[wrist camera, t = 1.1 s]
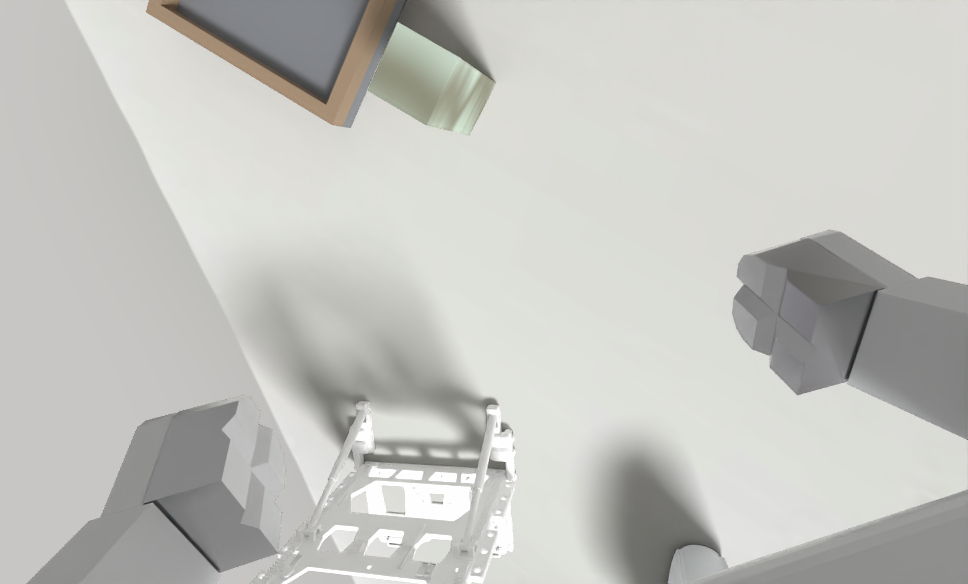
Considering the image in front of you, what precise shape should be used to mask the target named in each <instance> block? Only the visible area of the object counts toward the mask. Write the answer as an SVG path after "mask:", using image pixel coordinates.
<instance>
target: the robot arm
mask: <svg viewBox="0 0 968 584" xmlns="http://www.w3.org/2000/svg"><path fill="white" fill-rule="evenodd" d="M737 278H738V279H739V280H740V281H741V282H742V283H743V286H742V287H741V289H740V290H739V291H738V293H737V294H736V295H735V297H734V300H733V311H732V314H733V318H734V321H735V325H736V329H737V330H738V332H739V334H740V335H741V337H742V339H743V340H744V341H745V342H746V343H747V344H748V345H749V346H750V347H751V348H752V349H753V350H756V351H758V352H761V353H764V354H766V355H769V356H770V368H771V369H772V370H773V371H774V372H775V373H776V374H777V375H778V376H779V377H780V378H781V379H782V380H783V381H784V382H785V383H786V384H787V385H788V386H789V387H790V388H791V389H792V390H793V391H794V392H795V393H796V394H797V395H800V394H803V393H807V392H811V391H814V390H818V389H821V388H825V387H829V386H832V385H836V384H840V383H843V382H847V381H848V383H847V384H848V385H850V386H852V387H854V388H857V389H859V390H861V391H863V392H865V393H867V394H870V395H872V396H874V397H876V398H878V399H880V400H882V401H885V402H887V403H889V404H891V405H893V406H895V407H898V408H900V409H902V410H904V411H906V412H908V413H911V414H913V415H915V416H917V417H919V418H921V419H924V420H926V421H928V422H930V423H932V424H934V425H937V426H939V427H941V428H943V429H945V430H947V431H950V432H952V433H954V434H956V435H958V436H960V437H963V438H965V439H967V440H968V285H965V284H960V283H955V282H951V281H946V280H941V279H937V278H932V277H925V278H921V279H918V278H916V277H914V276H913V275H911V274H910V273H908V272H906V271H905V270H903V269H901V268H900V267H898V266H896V265H895V264H893V263H891V262H890V261H888V260H886V259H885V258H883V257H881V256H880V255H878V254H876V253H875V252H873V251H872V250H870V249H868V248H867V247H865V246H863V245H862V244H860V243H858V242H857V241H855V240H853V239H852V238H850V237H848V236H847V235H845V234H843V233H842V232H839V231H834V230H827V231H824V232H820V233H817V234H814V235H810V236H807V237H804V238H801V239H800V240H796V241H792V242H789V243H786V244H782V245H779V246H775V247H772V248H768V249H765V250H761V251H758V252H754V253H751V254H747V255H744V256H743V257H742V259H741V261H740V262H739V264H738V270H737ZM260 412H261V411H260V409H259V408H258V406H257V405H256V403H255V402H254V400H253V399H252V397H250V396H246V395H241V396H237V397H234V398H230V399H226V400H222V401H218V402H214V403H210V404H206V405H202V406H198V407H194V408H191V409H187V410H183V411H180V412H178V413H174V414H169V415H165V416H162V417H158V418H154V419H150V420H146V421H145V422H143V423H142V424H141V425H140V426H139V427H137V429H136V431H135V434H134V436H133V439H132V441H131V444H130V446H129V449H128V451H127V454H126V456H125V459H124V461H123V463H122V466H121V468H120V471H119V473H118V476H117V478H116V481H115V484H114V486H113V488H112V490H111V493H110V495H109V498H108V500H107V503H106V505H105V508H104V510H103V513H102V515H101V517H100V518H97V519H94V520H91V521H89V522H88V523H87V524H86V525H85V526H84V527H83V528H82V529H81V530H80V531H79V532H78V533H77V534H76V535H75V536H74V537H73V538H72V539H71V540H70V541H69V542H68V543H67V544H66V545H65V546H64V547H63V548H62V549H61V550H60V551H59V552H58V553H57V554H56V555H55V556H54V557H53V558H52V559H51V560H50V561H49V562H48V563H47V564H46V565H45V566H44V567H43V568H42V569H41V570H40V571H39V572H38V573H37V574H36V575H35V576H34V577H33V578H32V579H31V580H30V581H29V582H28V583H27V584H217V582H218V580H219V578H220V577H221V574H220V572H223V571H226V570H229V569H232V568H235V567H238V566H241V565H244V564H247V563H250V562H253V561H256V560H259V559H262V558H265V557H268V556H271V555H274V554H277V553H278V550H279V540H280V530H281V521H282V512H281V510H280V509H279V507H278V506H277V504H276V503H275V500H276V499H277V497H278V496H279V494H280V493H281V492H282V490H283V489H284V487H285V477H286V468H285V461H284V454H283V451H282V448H281V445H280V442H279V440H278V438H277V436H276V435H275V433H274V431H273V430H272V429H270V428H267V427H265V426H263V425H260V424H259V419H260ZM682 584H968V490H965V491H962V492H959V493H956V494H953V495H950V496H947V497H944V498H941V499H938V500H935V501H932V502H929V503H926V504H923V505H920V506H917V507H914V508H911V509H907V510H904V511H901V512H898V513H895V514H892V515H889V516H886V517H883V518H880V519H877V520H874V521H871V522H868V523H865V524H862V525H859V526H856V527H853V528H850V529H847V530H844V531H840V532H837V533H834V534H831V535H828V536H825V537H822V538H819V539H816V540H813V541H810V542H807V543H804V544H801V545H798V546H795V547H792V548H789V549H786V550H783V551H780V552H777V553H773V554H770V555H767V556H764V557H761V558H758V559H755V560H752V561H749V562H746V563H743V564H740V565H737V566H734V567H731V568H728V569H725V570H722V571H719V572H716V573H713V574H710V575H706V576H703V577H700V578H697V579H694V580H691V581H688V582H685V583H682Z"/></svg>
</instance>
